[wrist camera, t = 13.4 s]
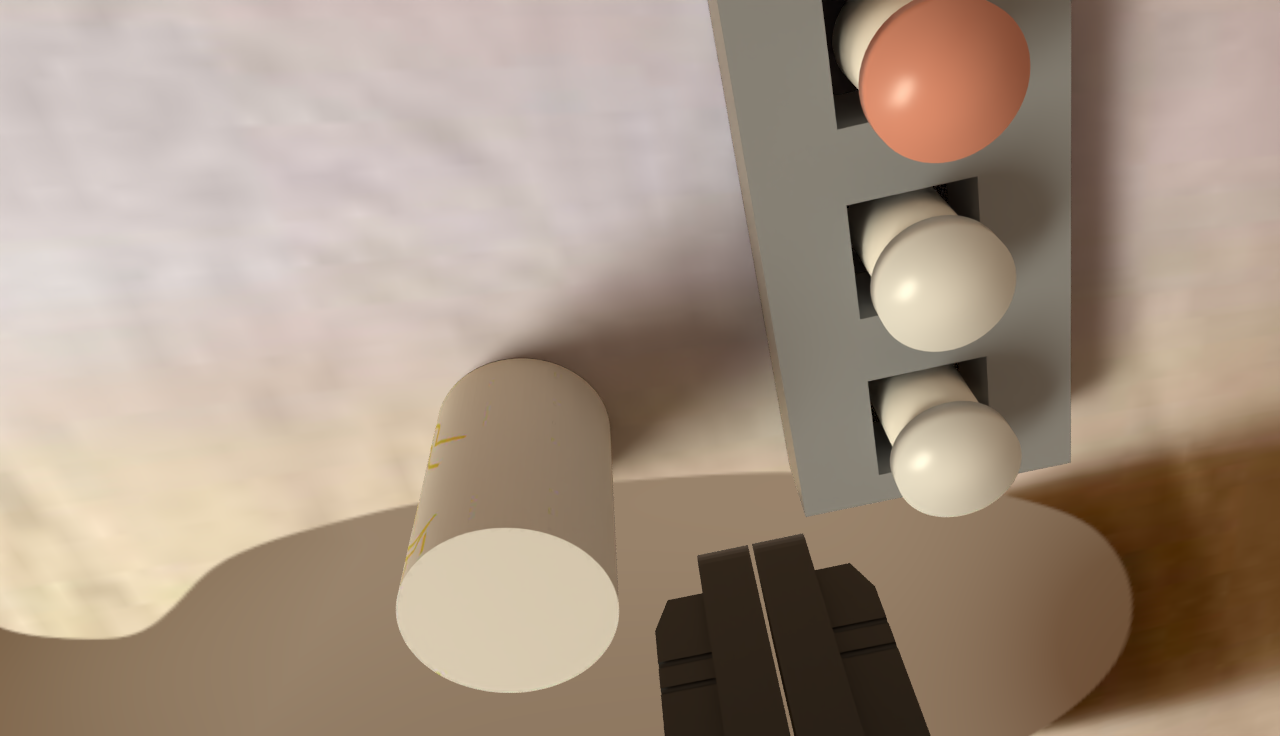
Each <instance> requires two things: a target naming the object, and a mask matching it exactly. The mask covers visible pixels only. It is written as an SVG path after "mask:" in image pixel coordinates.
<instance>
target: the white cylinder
mask: <svg viewBox="0 0 1280 736" xmlns="http://www.w3.org/2000/svg"><path fill="white" fill-rule="evenodd" d="M396 617H397V622H398V626H399V629H400V632H401V634H402V637H403V639H404V641H405V642H406V644H407V646H408V647H409V648H410V650H411V651H412V652H413V654H414V655H415V656H416V657H417V658H418V659H419V660H420V661H421V662H422V663H423V664H425V665H426V666H427V667H429V668H430V669H431V670H433V671H434V672H436V673H437V674H439V675H441V676H442V677H444V678H446V679H448V680H450V681H453V682H455V683H458V684H461V685H464V686H467V687H470V688H474V689H478V690H484V691H490V692H502V693H517V692H528V691H535V690H540V689H544V688H548V687H551V686H555V685H558V684H560V683H563V682H565V681H567V680H570V679H571V678H573V677H575V676H577V675H578V674H580V673H582V672H583V671H585V670H586V669H587V668H589V667H590V666H591V665H593V664H594V663H595V662H596V661H597V660H598V659H599V658H600V657H601V656H602V654H603V653H604V652H605V651H606V649H607V648H608V646H609V645H610V643H611V641H612V639H613V637H614V635H615V632H616V629H617V625H618V619H619V600H618V580H617V559H616V540H615V517H614V497H613V476H612V455H611V435H610V422H609V417H608V414H607V411H606V408H605V406H604V404H603V402H602V400H601V398H600V397H599V395H598V394H597V393H596V391H595V390H594V389H593V388H592V387H591V386H590V385H589V384H588V383H587V382H586V381H585V380H584V379H582V378H581V377H580V376H578V375H577V374H575V373H574V372H572V371H570V370H568V369H566V368H564V367H562V366H560V365H557V364H554V363H551V362H547V361H543V360H538V359H529V358H515V359H505V360H500V361H496V362H492V363H489V364H486V365H484V366H482V367H479V368H477V369H475V370H474V371H472V372H470V373H469V374H467V375H466V376H464V377H463V378H462V379H461V380H460V381H458V382H457V383H456V384H455V385H454V386H453V388H452V389H451V390H450V391H449V393H448V394H447V396H446V397H445V399H444V401H443V403H442V406H441V408H440V411H439V415H438V419H437V424H436V428H435V433H434V437H433V441H432V446H431V450H430V455H429V459H428V463H427V468H426V472H425V477H424V481H423V485H422V490H421V494H420V499H419V503H418V507H417V512H416V516H415V521H414V526H413V530H412V534H411V538H410V543H409V547H408V552H407V556H406V560H405V565H404V569H403V574H402V578H401V583H400V587H399V591H398V596H397V602H396Z"/></svg>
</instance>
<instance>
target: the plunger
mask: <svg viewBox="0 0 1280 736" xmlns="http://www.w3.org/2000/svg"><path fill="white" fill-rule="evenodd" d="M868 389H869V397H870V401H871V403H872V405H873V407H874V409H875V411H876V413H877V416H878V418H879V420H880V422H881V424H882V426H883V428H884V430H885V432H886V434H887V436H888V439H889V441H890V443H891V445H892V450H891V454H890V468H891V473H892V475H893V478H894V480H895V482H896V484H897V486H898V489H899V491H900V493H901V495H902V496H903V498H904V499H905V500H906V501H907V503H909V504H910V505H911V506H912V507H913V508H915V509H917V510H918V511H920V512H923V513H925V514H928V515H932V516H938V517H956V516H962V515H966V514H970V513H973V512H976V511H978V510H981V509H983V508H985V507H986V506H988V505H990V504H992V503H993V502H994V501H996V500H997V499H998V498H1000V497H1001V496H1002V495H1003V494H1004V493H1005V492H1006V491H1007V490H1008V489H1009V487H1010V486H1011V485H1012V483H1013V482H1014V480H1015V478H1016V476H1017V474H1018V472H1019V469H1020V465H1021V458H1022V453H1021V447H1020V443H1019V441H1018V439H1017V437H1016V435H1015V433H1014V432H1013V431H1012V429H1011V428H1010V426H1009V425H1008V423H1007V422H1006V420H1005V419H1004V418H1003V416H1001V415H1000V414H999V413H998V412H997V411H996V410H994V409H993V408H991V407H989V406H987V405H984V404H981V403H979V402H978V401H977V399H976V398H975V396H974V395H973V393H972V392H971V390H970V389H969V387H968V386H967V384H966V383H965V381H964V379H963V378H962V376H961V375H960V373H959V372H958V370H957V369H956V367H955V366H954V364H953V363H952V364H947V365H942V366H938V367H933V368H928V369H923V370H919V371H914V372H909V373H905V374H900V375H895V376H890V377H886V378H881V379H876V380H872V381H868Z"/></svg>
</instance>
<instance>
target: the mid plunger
mask: <svg viewBox="0 0 1280 736" xmlns="http://www.w3.org/2000/svg"><path fill="white" fill-rule="evenodd" d="M847 215H848V223H849V231H850V240H851V244H852V246H853V247H854V249H855V251H856V252H857V254H858V256H859V257H860V259H861V261H862V262H863V264H864V266H865V267H866V269H867V271H868V272H869V274H870V276H871V283H870V293H871V299H872V303H873V306H874V308H875V310H876V312H877V314H878V316H879V318H880V319H881V321H882V323H883V325H884V326H885V328H886V329H887V331H888V332H889V333H890V334H891V335H892V336H893V337H894V338H895V339H896V340H898V341H899V342H901V343H902V344H904V345H906V346H908V347H910V348H913V349H916V350H921V351H929V352H941V351H948V350H953V349H957V348H960V347H963V346H965V345H968V344H970V343H972V342H974V341H976V340H977V339H979V338H980V337H982V336H983V335H985V334H986V333H987V332H988V331H990V330H991V329H992V328H993V327H994V326H995V325H996V324H997V323H998V322H999V320H1000V319H1001V318H1002V317H1003V315H1004V314H1005V312H1006V311H1007V309H1008V307H1009V305H1010V303H1011V301H1012V298H1013V295H1014V292H1015V286H1016V268H1015V264H1014V260H1013V258H1012V256H1011V254H1010V252H1009V250H1008V249H1007V247H1006V246H1005V245H1004V244H1003V243H1002V242H1001V240H1000V239H999V238H998V237H997V236H996V235H995V234H994V233H993V232H992V231H991V230H990V229H989V228H988V227H986V226H985V225H984V224H982V223H980V222H978V221H977V220H974V219H971V218H968V217H964V216H958V215H957V214H956V213H955V211H954V210H953V209H952V208H951V207H950V206H949V205H948V204H947V202H946V201H945V200H944V199H943V198H942V197H941V196H940V195H939V194H938V192H937V191H936V190H935V189H934V188H933V187H932V186H931V187H927V188H922V189H918V190H914V191H909V192H905V193H900V194H896V195H891V196H887V197H882V198H878V199H873V200H869V201H864V202H860V203H856V204H851V205H850V207H849V210H848V213H847Z"/></svg>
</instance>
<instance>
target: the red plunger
mask: <svg viewBox="0 0 1280 736" xmlns="http://www.w3.org/2000/svg"><path fill="white" fill-rule="evenodd" d="M832 44H833V52H834V56H835V59H836V62H837V64H838V66H839V68H840V69H841V71H842V72H843V74H844V75H845V76H846V77H847V78H848V79H849V80H850V81H851V82H852V83H853V84H854V85H855V86H856V88H857V89H858V90H859V97H860V103H861V106H862V110H863V113H864V115H865V117H866V119H867V121H868V123H869V124H870V125H871V127H872V128H873V130H874V131H875V132H876V133H877V134H878V136H879V137H880V138H881V139H882V140H883V141H884V142H885V143H886V144H887V145H888V146H889V147H890V148H891V149H893V150H894V151H895V152H897V153H899V154H900V155H902V156H904V157H906V158H909V159H911V160H915V161H919V162H925V163H945V162H951V161H955V160H959V159H962V158H965V157H967V156H970V155H972V154H974V153H976V152H978V151H980V150H981V149H983V148H985V147H986V146H987V145H989V144H990V143H992V142H993V141H994V140H995V139H996V138H997V137H998V136H1000V135H1001V134H1002V132H1003V131H1004V130H1005V129H1006V128H1007V127H1008V126H1009V124H1010V123H1011V122H1012V120H1013V119H1014V117H1015V116H1016V114H1017V112H1018V111H1019V109H1020V107H1021V105H1022V102H1023V100H1024V98H1025V95H1026V92H1027V88H1028V84H1029V78H1030V54H1029V49H1028V45H1027V42H1026V39H1025V37H1024V34H1023V32H1022V31H1021V29H1020V27H1019V26H1018V24H1017V23H1016V22H1015V21H1014V19H1013V18H1012V17H1011V16H1010V15H1009V14H1008V13H1006V12H1005V11H1004V10H1003V9H1001V8H999V7H998V6H996V5H995V4H993V3H991V2H989V1H987V0H847V2H846V3H845V4H844V6H843V7H842V9H841V11H840V12H839V15H838V17H837V19H836V22H835V25H834V30H833V38H832Z"/></svg>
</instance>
